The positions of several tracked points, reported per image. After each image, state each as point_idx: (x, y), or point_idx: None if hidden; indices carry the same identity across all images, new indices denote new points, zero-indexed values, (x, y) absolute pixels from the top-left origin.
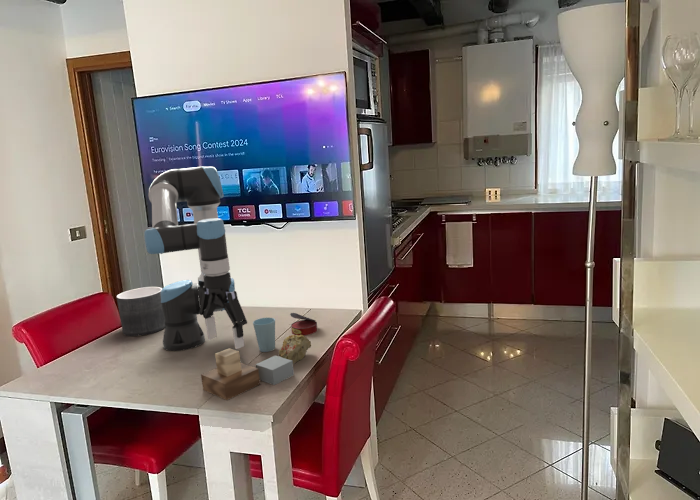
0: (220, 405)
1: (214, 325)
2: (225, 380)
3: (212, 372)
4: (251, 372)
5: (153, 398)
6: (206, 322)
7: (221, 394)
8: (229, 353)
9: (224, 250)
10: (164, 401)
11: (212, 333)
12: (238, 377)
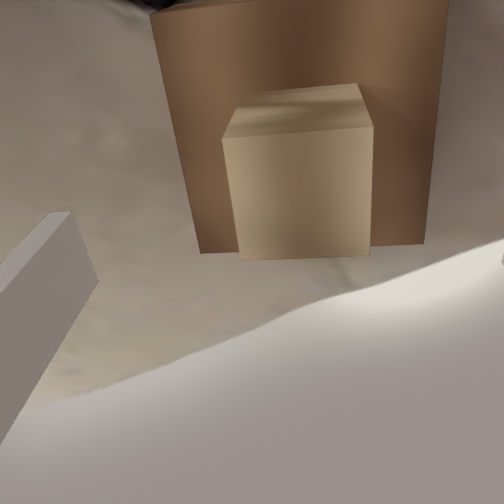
0: None
1: (12, 299)
2: (391, 220)
3: (227, 209)
4: (442, 48)
5: (140, 341)
6: (3, 419)
7: None
8: (336, 199)
9: None
10: (194, 332)
11: (66, 278)
12: (431, 156)
